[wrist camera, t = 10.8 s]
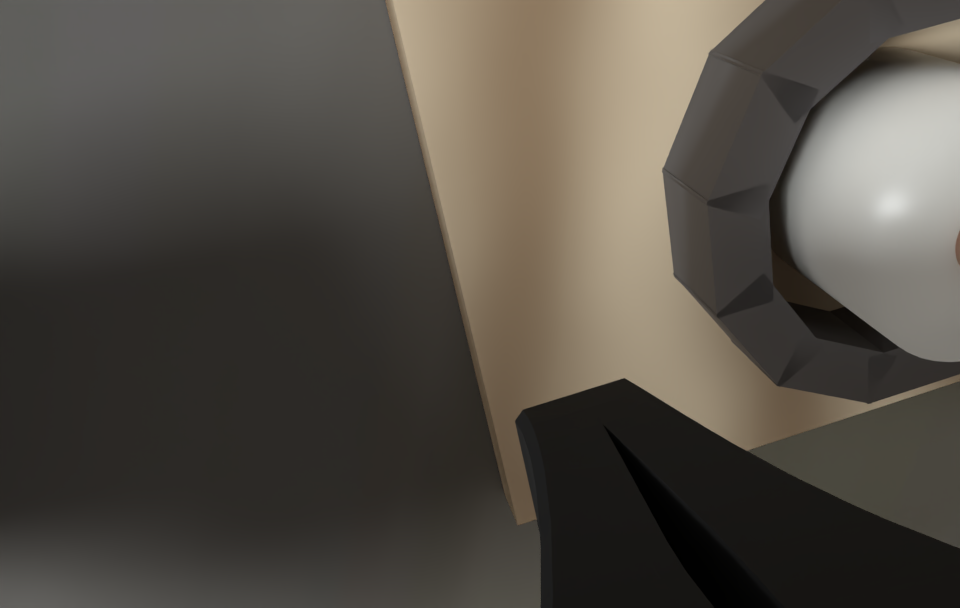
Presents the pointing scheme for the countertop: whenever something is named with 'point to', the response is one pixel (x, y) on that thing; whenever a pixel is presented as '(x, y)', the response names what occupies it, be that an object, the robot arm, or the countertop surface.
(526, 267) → the board
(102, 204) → the countertop surface
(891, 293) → the cap
